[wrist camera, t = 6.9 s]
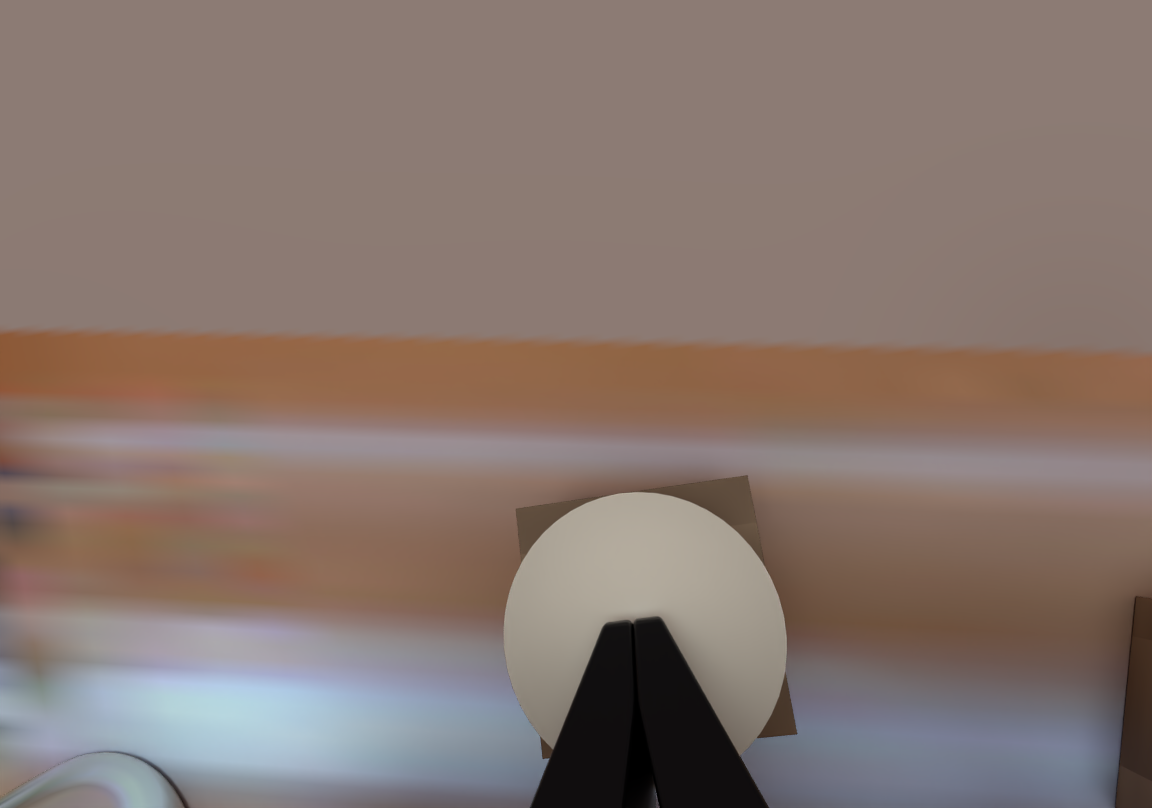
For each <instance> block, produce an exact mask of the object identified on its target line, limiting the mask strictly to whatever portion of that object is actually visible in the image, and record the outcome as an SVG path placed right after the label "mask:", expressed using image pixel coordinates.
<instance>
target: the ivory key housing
mask: <svg viewBox="0 0 1152 808" xmlns="http://www.w3.org/2000/svg"><path fill="white" fill-rule="evenodd" d="M636 492H645V493H658V494H663V495H668V496H673V497H676V498H680V499H683V500H686V501H689V502H691V503H693V504H696V505H698V506H700V507H702V508H704V509H706V510H708V511H710V512H711V513H713V514H714V515H716V516H717V517H719V518H720V519H722V520H723V521H725V522H726V523H727V524H728V525H729V526H731V527H732V528H733V529H734V530H735V531H737V532H738V533H739V534H740V535H741V537H742V538H743V539H744V540H745V541H746V542H747V543H748V544H749V545H750V546H751V547H752V549H753V550H754V552H755V553H756V554H757V556H758V557H759V558H760V560H761V561H762V563H763V565H764V566H765V564H764V559H763V554H762V548H761V543H760V538H759V533H758V528H757V523H756V517H755V512H754V507H753V502H752V497H751V491H750V486H749V481H748V476H747V475H746V476H740V477H733V478H726V479H719V480H712V481H705V482H698V483H691V484H684V485H677V486H670V487H663V488H656V489H649V490H642V491H636ZM629 493H633V492H629ZM608 496H610V495H608ZM602 497H606V496H601V497H594V498H587V499H580V500H573V501H566V502H559V503H552V504H545V505H538V506H531V507H525V508H518V509H516V516H517V525H518V535H519V544H520V553H521V562H522V561H523V559H524V558H525V556H526V555H527V553H528V552H529V550H530V549H531V547H532V546H533V545H534V543H535V542H536V541H537V540H538V539H539V538H540V536H541V535H542V534H543V533H544V532H545V531H546V530H547V529H548V528H549V527H550V526H552V525H553V524H554V523H555V522H556V521H557V520H559V519H560V518H561V517H563V516H564V515H566V514H567V513H569V512H570V511H572V510H574V509H576V508H578V507H580V506H582V505H583V504H585V503H588V502H591V501H593V500H596V499H599V498H602ZM795 734H797V730H796V725H795V720H794V714H793V709H792V704H791V699H790V694H789V688H788V683H787V678H786V673H785V675H784V680H783V683H782V687H781V691H780V695H779V698H778V700H777V703H776V705H775V707H774V710H773V712H772V714H771V716H770V718H769V720H768V721H767V723H766V725H765V726H764V728H763V730H762V731H761V733H760V734H759V735H758V737H757V738H764V737H775V736H785V735H795ZM540 738H541V736H540ZM541 747H542V757H543V759H547V758H550V756H551V754H552V751H553V749H552V748H551V747H550V746H549V745H548V744H547V743H546V742H545V741H544V740H543V739H542V738H541Z"/></svg>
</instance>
